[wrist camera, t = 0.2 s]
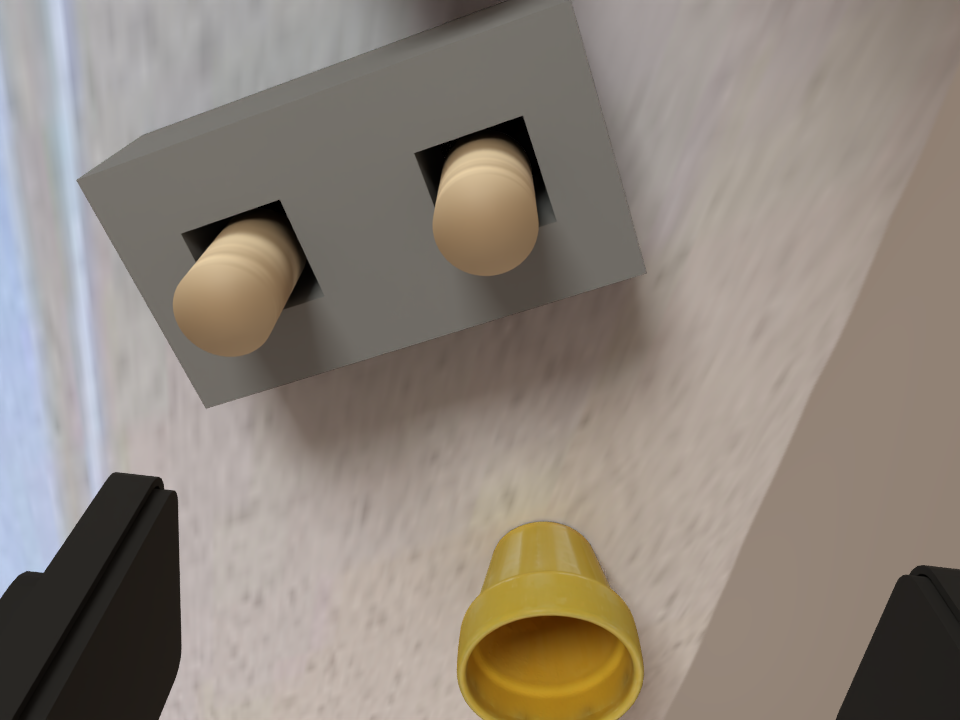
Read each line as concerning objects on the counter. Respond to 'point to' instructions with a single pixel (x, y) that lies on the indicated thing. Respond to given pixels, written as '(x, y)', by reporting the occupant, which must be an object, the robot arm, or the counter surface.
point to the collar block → (376, 193)
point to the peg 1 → (240, 284)
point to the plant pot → (548, 633)
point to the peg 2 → (486, 204)
